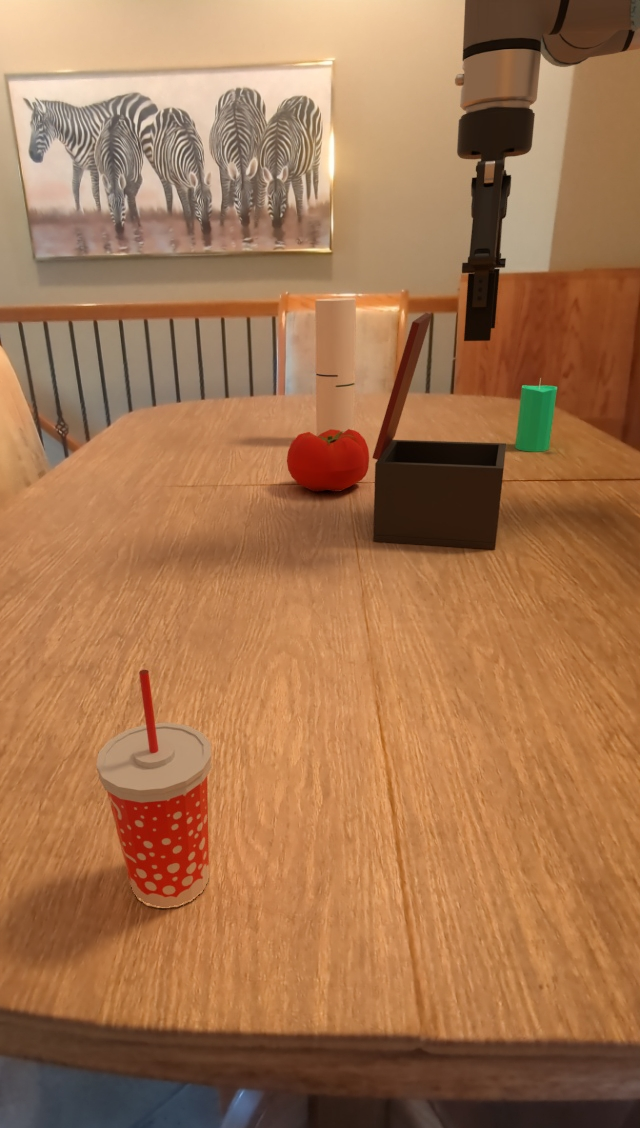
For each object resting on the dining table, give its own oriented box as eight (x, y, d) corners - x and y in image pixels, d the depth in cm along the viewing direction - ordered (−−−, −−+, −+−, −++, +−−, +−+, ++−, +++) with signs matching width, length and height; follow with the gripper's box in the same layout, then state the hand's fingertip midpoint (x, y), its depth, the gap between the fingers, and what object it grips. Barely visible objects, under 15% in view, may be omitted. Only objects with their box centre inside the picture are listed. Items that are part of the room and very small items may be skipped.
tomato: (299, 503, 110) (298, 444, 106) (281, 481, 121) (280, 427, 117) (382, 496, 112) (384, 437, 108) (357, 475, 123) (358, 421, 119)
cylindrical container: (319, 438, 148) (318, 298, 137) (356, 438, 147) (358, 297, 135) (313, 446, 142) (312, 301, 131) (351, 447, 141) (353, 300, 129)
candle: (509, 449, 135) (517, 379, 130) (521, 442, 140) (529, 374, 134) (543, 453, 132) (552, 381, 127) (554, 446, 136) (563, 376, 131)
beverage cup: (133, 841, 47) (102, 642, 41) (230, 845, 47) (214, 644, 40) (104, 917, 42) (63, 702, 36) (213, 923, 41) (191, 705, 35)
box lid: (432, 314, 93) (425, 312, 93) (419, 323, 82) (412, 321, 82) (394, 437, 101) (388, 435, 101) (378, 460, 90) (372, 458, 90)
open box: (498, 517, 102) (506, 443, 97) (495, 549, 91) (503, 468, 86) (388, 511, 105) (391, 439, 101) (373, 541, 95) (375, 463, 90)
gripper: (467, 129, 88) (455, 324, 98) (448, 93, 67) (436, 347, 77) (534, 123, 86) (515, 323, 96) (536, 84, 65) (512, 346, 75)
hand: (480, 334), depth 87 cm, fingers open, 13 cm apart
